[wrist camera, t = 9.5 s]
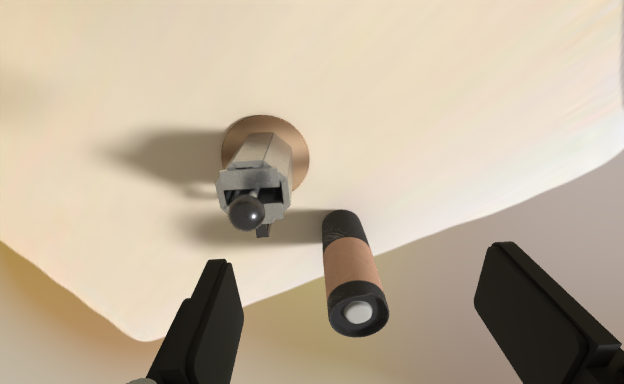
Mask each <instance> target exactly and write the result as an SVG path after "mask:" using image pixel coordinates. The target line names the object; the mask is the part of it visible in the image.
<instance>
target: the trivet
mask: <svg viewBox="0 0 624 384" xmlns="http://www.w3.org/2000/svg"><path fill="white" fill-rule="evenodd" d="M257 133H275V134H276V135H277V136H279V137H280V138H281V139H282V140H284V141H285V142H286V143H287V144H288V145H290V146H291V147H292V153H293V163H294V174H293V184H292V191H294V190H295V189H296V188H297V187H298V186H299V185H300V184H301V183H302V182H303V180H304V178H305V176H306V174H307V171H308V168H309V151H308V147H307V144H306V142H305V140H304V138H303V137H302V135H301V134H300V132H299V131H298V130H297V129H296V128H295V127H294V126H292V125H291V124H290V123H288V122H286V121H285V120H283V119H280V118H277V117H274V116H268V115H258V116H253V117H249V118H246V119H244V120H242V121H241V122H239V123H238V124H236V125H235V126H234V127H233V128H232V129H231V130H230V131H229V133H228V134H227V136H226V138H225V140H224V143H223V146H222V163H223V167H224V169H225V168H226V166H227V165H228V163H229V161H230V160H231V158H232V157H233V155H234V154H235V152H236V151H237V150H238V148H239V147H240V146H241V145H242V143H243V142H244V141H245V140H246V138H247V137H248V136H249V135H250V134H257Z"/></svg>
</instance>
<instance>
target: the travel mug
mask: <svg viewBox="0 0 624 384" xmlns="http://www.w3.org/2000/svg"><path fill="white" fill-rule="evenodd" d="M322 242H323V264H324V274H325V285H326V296H327V306H328V316H329V322H330V324H331V326H332V328H333V329H334V330H335V331H336V332H338V333H340V334H342V335H344V336H348V337H365V336H369V335H372V334H374V333H376V332H378V331H379V330H381V329H382V328H383V327H384V326H385V325H386V323H387V321H388V318H389V309H388V305H387V302H386V299H385V295H384V292H383V289H382V285H381V282H380V279H379V275H378V272H377V269H376V265H375V263H374V259H373V255H372V252H371V249H370V246H369V244H368V241H367V238H366V235H365V233H364V230H363V227H362V225H361V222H360V220H359V218H358V217H357V216H356V215H355V214H354V213H352V212H350V211H347V210H338V211H334V212H332V213H330V214H329V215H328V216H327V217H326V218H325V220H324V221H323V225H322Z"/></svg>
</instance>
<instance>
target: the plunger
mask: <svg viewBox="0 0 624 384" xmlns="http://www.w3.org/2000/svg"><path fill="white" fill-rule="evenodd" d="M261 167H262V166H261ZM245 168H258V167H245ZM259 189H260V188H252V189H251V191H250V193H249V195H242V196H239V197H237V198H236V199H234V200H233V201H232V203H231V204H230V206H229V209H228V218H229V221H230V223H231V224H232V226H233V227H235V228H236V229H238V230H240V231H244V232H248V231H253V230H255V229H257V228H258V227H259V226H260V225H261V224H262V223H263V221H264V218H265V208H264V205H263V203H262V202H261V201H260V200H259V199H258V198H257V196H258V192H259Z"/></svg>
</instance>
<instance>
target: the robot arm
mask: <svg viewBox="0 0 624 384" xmlns="http://www.w3.org/2000/svg"><path fill="white" fill-rule="evenodd" d="M474 306H475V309H476V311H477V312H478V314H479V316H480V317H481V319H482V320H483V322H484V323H485V325H486V326H487V328H488V329H489V331H490V333H491V334H492V336H493V337H494V339H495V340H496V342H497V343H498V345H499V347H500V348H501V350H502V351H503V353H504V354H505V356H506V357H507V359H508V360H509V362H510V364H511V365H512V367H513V368H514V370H515V371H516V373H517V374H518V376H519V378H520V379H521V381H522V382H523V384H624V351H623V350H622V349H621V348H620V346H621V345H622V344H621V343H620V342H619V341H618V340H617V339H616V338H615V337H614V336H613V335H612V334H611V333H610V332H609V331H608V330H607V329H605V328H604V327H603V326H602V325H601V324H600V323H599V322H598V321H597V320H596V319H595V318H594V317H593V316H592V315H591V314H590V313H588V312H587V311H586V310H585V309H584V308H583V307H582V306H581V305H580V304H579V303H578V302H577V301H576V300H575V299H574V298H573V297H571V296H570V295H569V294H568V293H567V292H566V291H565V290H564V289H563V288H562V287H561V286H560V285H559V284H558V283H557V282H556V281H555V280H553V279H552V278H551V277H550V276H549V275H548V274H547V273H546V272H545V271H544V270H543V269H542V268H541V267H540V266H539V265H537V264H536V263H535V262H534V261H533V260H532V259H531V258H530V257H529V256H528V255H527V254H526V253H525V252H524V251H523V250H522V249H521V248H519V247H518V246H517V245H516V244H515V243H514V242H495V243H493V244H492V246H491V247H489V248H488V249H487V252H486V256H485V260H484V263H483V267H482V271H481V275H480V278H479V282H478V286H477V290H476V294H475V297H474ZM243 322H244V314H243V309H242V305H241V301H240V297H239V293H238V288H237V284H236V280H235V276H234V272H233V268H232V264H231V263H227V261H226V260H225V259H213V260H208V262H207V264H206V266H205V268H204V270H203V272H202V275H201V277H200V279H199V281H198V283H197V285H196V288H195V290H194V292H193V294H192V296H191V298H187V299H185V300H184V301H183V302H182V304H181V306H180V308H179V310H178V312H177V314H176V316H175V318H174V320H173V322H172V324H171V327H170V329H169V331H168V333H167V335H166V337H165V339H164V341H163V343H162V345H161V347H160V349H159V351H158V353H157V355H156V358H155V360H154V362H153V364H152V366H151V368H150V370H149V372H148V374H147V376H146V378H140V379H137V380H133V381H131V382H129V383H127V384H230V380H231V375H232V372H233V367H234V362H235V358H236V354H237V349H238V345H239V341H240V336H241V332H242V327H243Z"/></svg>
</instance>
